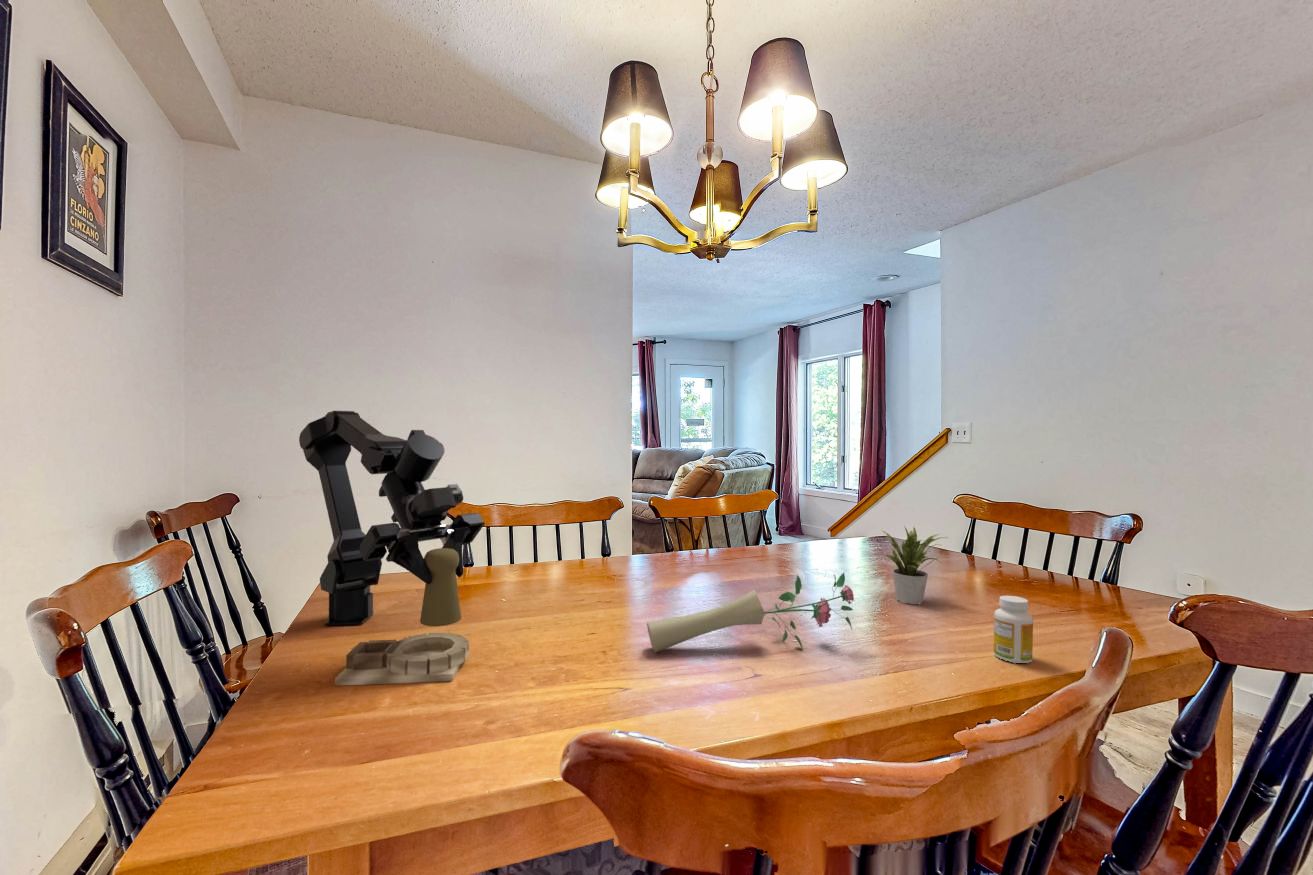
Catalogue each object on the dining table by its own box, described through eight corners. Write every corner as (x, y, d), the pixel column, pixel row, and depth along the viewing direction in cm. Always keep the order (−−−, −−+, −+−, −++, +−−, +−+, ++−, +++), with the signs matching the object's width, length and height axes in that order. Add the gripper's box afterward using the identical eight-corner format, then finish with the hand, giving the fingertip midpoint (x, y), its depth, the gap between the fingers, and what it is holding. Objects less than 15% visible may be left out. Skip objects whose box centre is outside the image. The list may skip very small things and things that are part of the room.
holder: (334, 685, 82) (334, 664, 82) (366, 652, 94) (366, 634, 94) (458, 680, 84) (458, 659, 84) (474, 649, 96) (474, 631, 96)
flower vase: (659, 687, 99) (844, 630, 106) (669, 697, 88) (876, 633, 94) (642, 617, 102) (823, 566, 109) (650, 618, 91) (851, 561, 97)
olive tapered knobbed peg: (437, 629, 86) (437, 555, 86) (411, 621, 90) (412, 550, 89) (469, 617, 91) (470, 548, 91) (444, 610, 95) (445, 543, 94)
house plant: (964, 613, 117) (965, 533, 117) (895, 612, 117) (896, 532, 117) (931, 593, 132) (933, 521, 131) (870, 592, 132) (871, 521, 132)
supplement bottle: (1027, 654, 96) (1028, 595, 96) (1036, 666, 91) (1037, 605, 91) (990, 649, 98) (991, 592, 98) (997, 661, 93) (998, 601, 93)
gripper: (369, 471, 85) (408, 558, 78) (479, 465, 100) (519, 538, 93) (344, 518, 90) (378, 604, 84) (452, 506, 105) (488, 578, 98)
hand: (446, 579), depth 89 cm, fingers closed on olive tapered knobbed peg, 5 cm apart
